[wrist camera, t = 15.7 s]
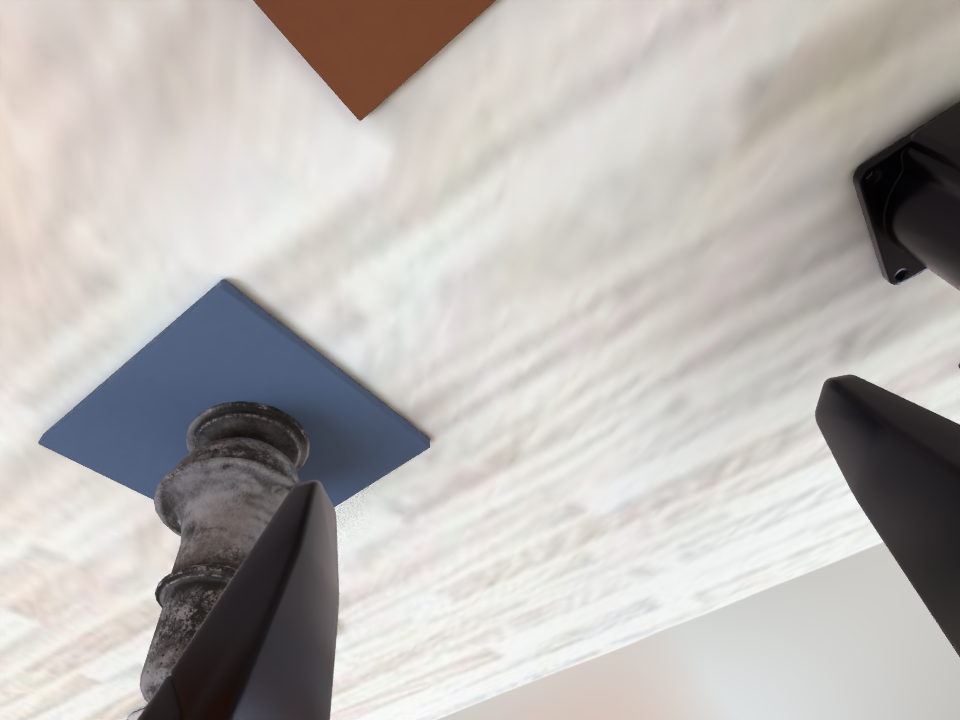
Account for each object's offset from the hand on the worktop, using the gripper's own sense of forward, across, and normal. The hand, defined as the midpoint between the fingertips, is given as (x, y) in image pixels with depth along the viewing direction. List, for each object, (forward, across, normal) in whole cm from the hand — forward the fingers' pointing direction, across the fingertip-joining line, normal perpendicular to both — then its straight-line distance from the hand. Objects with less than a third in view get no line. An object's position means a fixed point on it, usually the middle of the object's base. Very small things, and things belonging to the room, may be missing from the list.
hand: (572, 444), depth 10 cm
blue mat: (+13, +13, +10) cm, 21 cm away
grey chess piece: (+13, +12, +10) cm, 20 cm away
